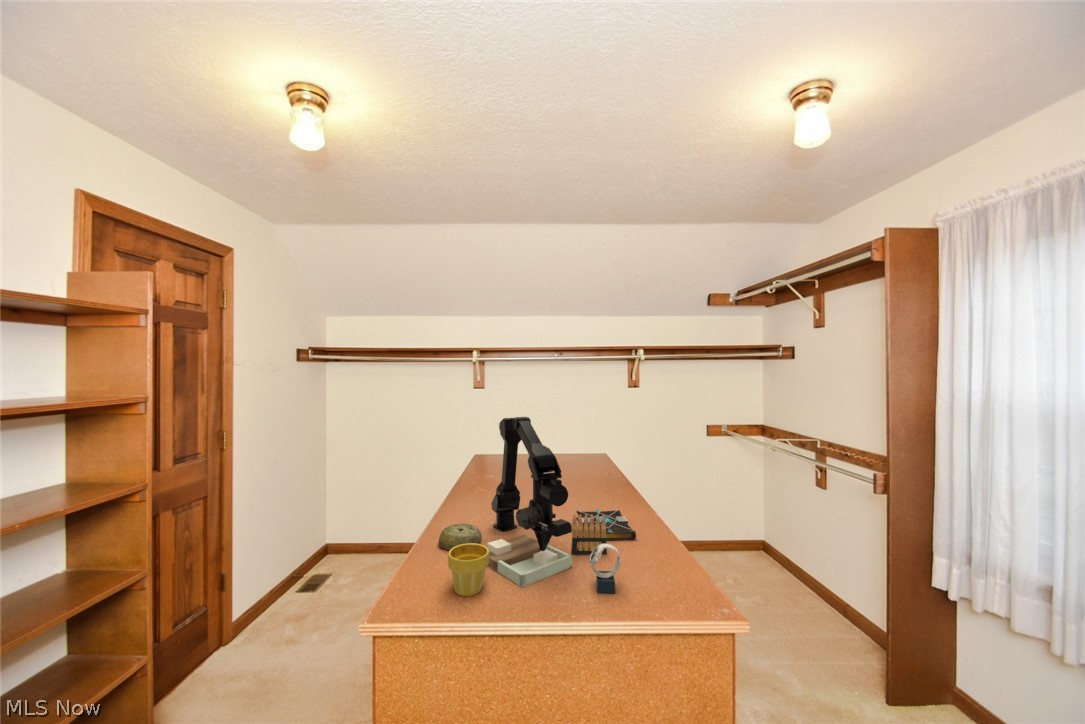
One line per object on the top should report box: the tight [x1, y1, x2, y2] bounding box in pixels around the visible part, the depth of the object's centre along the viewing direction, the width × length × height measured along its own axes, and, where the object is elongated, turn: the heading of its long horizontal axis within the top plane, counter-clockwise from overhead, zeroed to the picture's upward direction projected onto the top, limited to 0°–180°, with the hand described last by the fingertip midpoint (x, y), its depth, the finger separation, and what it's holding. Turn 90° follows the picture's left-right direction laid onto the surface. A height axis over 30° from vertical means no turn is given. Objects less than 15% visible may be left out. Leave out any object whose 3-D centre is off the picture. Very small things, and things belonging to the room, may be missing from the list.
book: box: [576, 508, 637, 541], centre depth 153 cm, size 22×17×5 cm
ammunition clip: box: [570, 513, 608, 556], centre depth 133 cm, size 11×2×12 cm, turn 91°
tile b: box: [486, 538, 511, 555], centre depth 129 cm, size 5×5×2 cm
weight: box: [438, 523, 483, 552], centre depth 140 cm, size 14×13×5 cm
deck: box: [487, 534, 541, 573], centre depth 130 cm, size 11×18×2 cm, turn 130°
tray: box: [497, 544, 573, 588], centre depth 122 cm, size 11×18×3 cm, turn 130°
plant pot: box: [447, 543, 489, 597], centre depth 111 cm, size 10×10×10 cm
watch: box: [588, 543, 622, 595], centre depth 112 cm, size 6×8×11 cm
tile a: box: [534, 549, 558, 565], centre depth 126 cm, size 5×5×2 cm
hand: (542, 550), depth 126 cm, fingers closed
